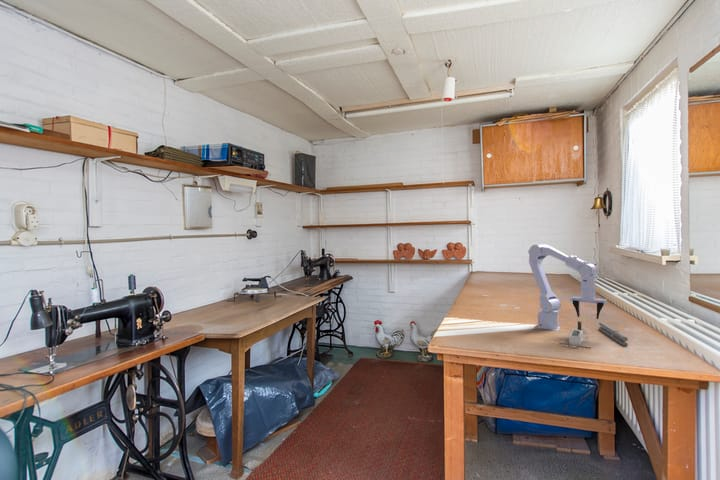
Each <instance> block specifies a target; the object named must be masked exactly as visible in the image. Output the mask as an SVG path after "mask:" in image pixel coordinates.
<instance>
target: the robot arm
mask: <svg viewBox="0 0 720 480" xmlns="http://www.w3.org/2000/svg"><path fill="white" fill-rule="evenodd" d="M527 252H528V255H529V256H528V265H529V266H530V270H531V272H532V275H533V277H534V279H535V283H536V285H537V288H538V290H539V293H540V296H539V298H538V300H539V307H540V310H538V312H537V328H538V329H545V330H553V331H559V330H560V328H561V326H559V309H560V308H561V307H562V303H561V300H560V299H559V298H558V296H557V294H555V292H553V290H552V288H551V285H550V283H549V280H548V277H547V275H546V273H545V270H544V267H543V265H542V262H543V261H544V259H545V258H546V257H547V256H550V257H553V258H555V259H557V260H559V261H562V262H564V263H565V266H566V267H568V268H570V269H571V270H574V271H576V272H577V273H578V274H579V276H580V296H570V297H569V301H570V302H572V305H573V306H574V309H575V311H576V316H577V317H578V318H579V317H580V316H581V315H580V302H581V303H589V304H590V303H591V304H596V316H595V317H596V319H595V320H599V318H600V317H599V315H600V314H601V310H602V309H603V307H604V305H607V299H605V298H604V299H603V298H598V297H597V298H596V274H597V273H598V270H599V269H598V267H597V265H595V264H594V263H592V262H589V263H588V261H586V260H582V259H580V258H578V257H579V256H578V255H567V254H565V253H563V252H561V251H560V250H558V249H556V248H554V247H553V246H552V245H549V244H547V243H542V244H532V245H531V246H530V247H529V249H528V251H527Z"/></svg>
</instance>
